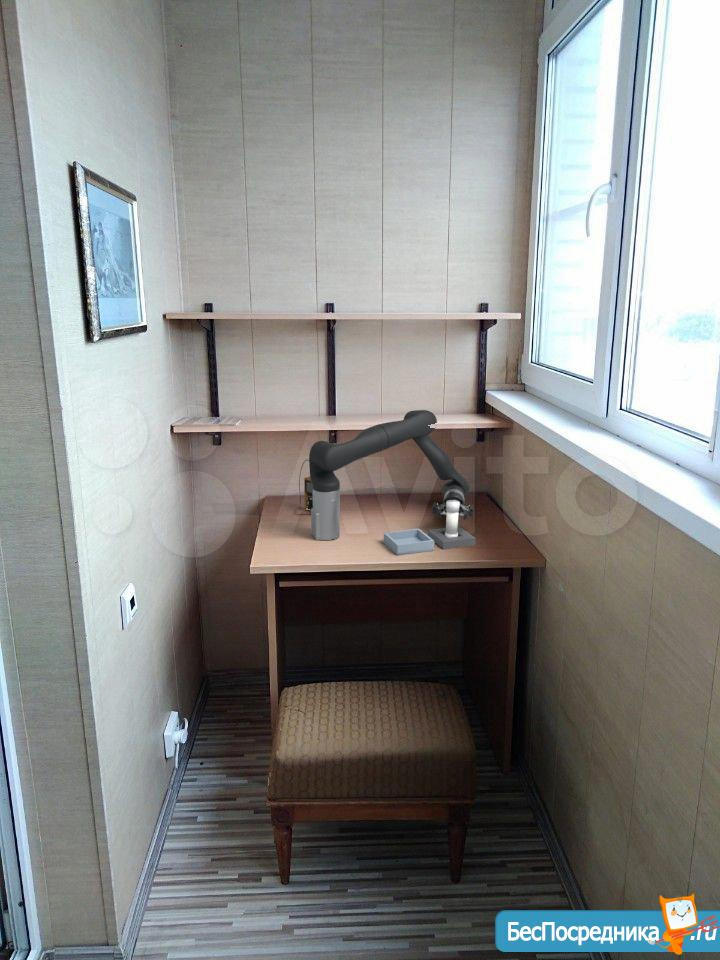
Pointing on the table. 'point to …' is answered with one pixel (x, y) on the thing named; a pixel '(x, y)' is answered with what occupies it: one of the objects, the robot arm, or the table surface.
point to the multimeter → (307, 491)
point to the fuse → (452, 518)
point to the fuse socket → (452, 542)
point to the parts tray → (408, 541)
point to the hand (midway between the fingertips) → (452, 515)
